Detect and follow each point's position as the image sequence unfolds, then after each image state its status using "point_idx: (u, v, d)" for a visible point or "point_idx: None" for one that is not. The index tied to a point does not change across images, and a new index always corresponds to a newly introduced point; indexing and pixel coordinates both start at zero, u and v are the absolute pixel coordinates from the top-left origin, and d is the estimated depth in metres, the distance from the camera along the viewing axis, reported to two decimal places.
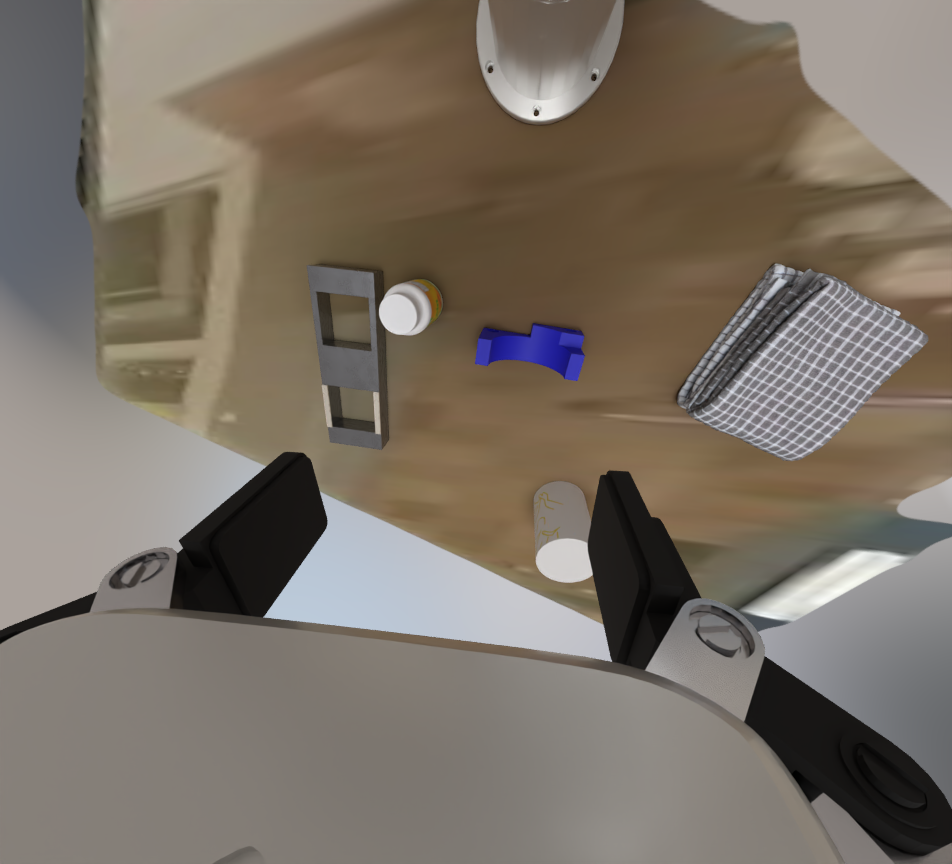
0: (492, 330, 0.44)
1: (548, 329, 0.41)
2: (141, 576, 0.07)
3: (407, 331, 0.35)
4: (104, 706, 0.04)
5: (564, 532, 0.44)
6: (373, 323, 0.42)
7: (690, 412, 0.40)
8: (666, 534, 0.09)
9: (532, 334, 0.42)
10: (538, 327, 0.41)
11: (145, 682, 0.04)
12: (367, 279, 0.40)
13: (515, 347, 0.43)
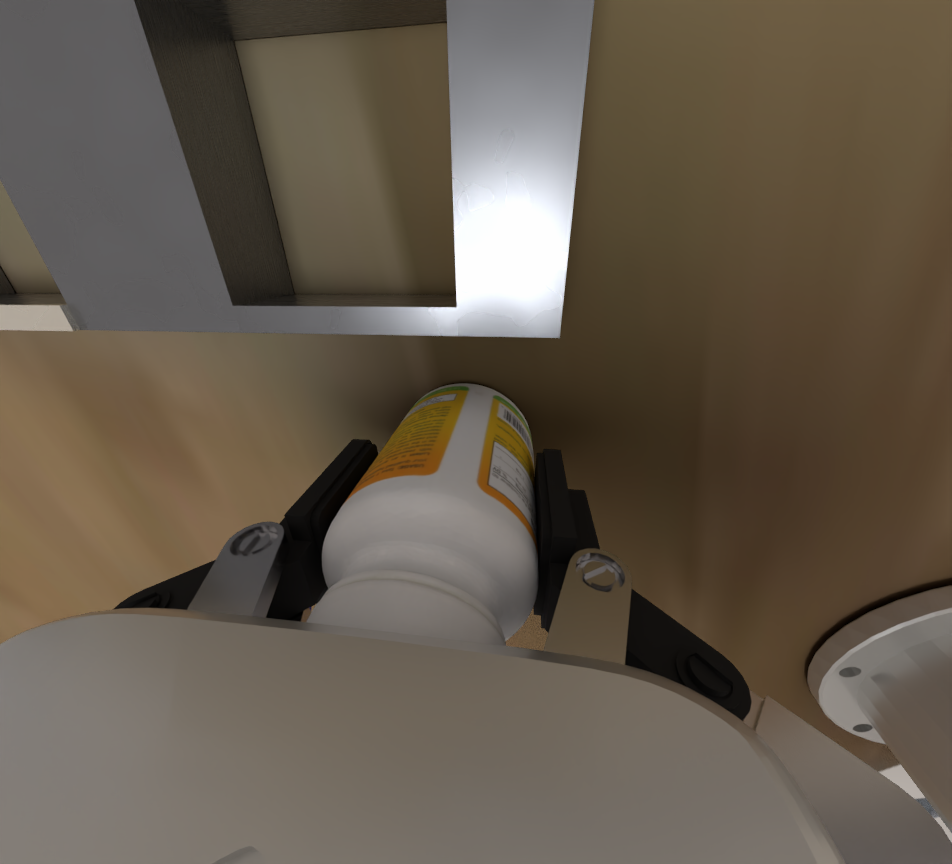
0: None
1: None
2: (256, 546, 0.08)
3: None
4: (104, 706, 0.04)
5: None
6: (353, 323, 0.10)
7: None
8: (586, 503, 0.10)
9: None
10: None
11: (145, 682, 0.04)
12: (532, 307, 0.09)
13: None
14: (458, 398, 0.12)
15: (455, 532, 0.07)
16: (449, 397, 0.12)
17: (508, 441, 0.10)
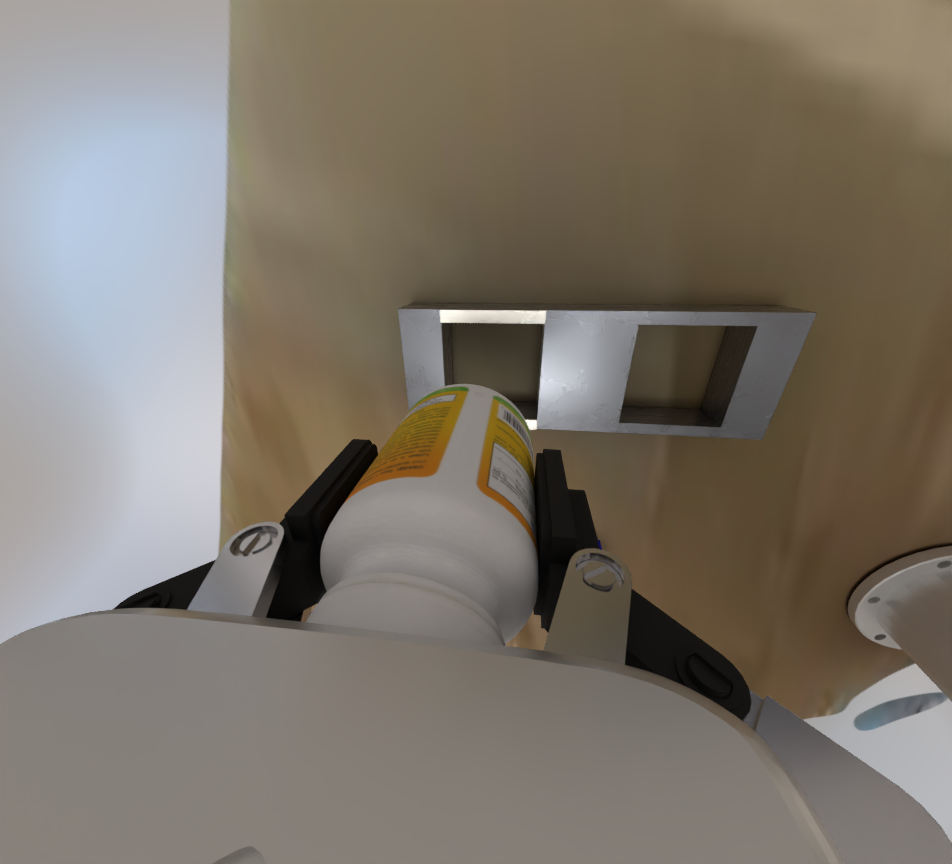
0: None
1: None
2: (256, 546, 0.08)
3: None
4: (104, 706, 0.04)
5: None
6: (672, 431, 0.23)
7: None
8: (586, 502, 0.10)
9: None
10: None
11: (145, 682, 0.04)
12: (753, 428, 0.22)
13: None
14: (458, 398, 0.11)
15: (454, 535, 0.07)
16: (448, 398, 0.12)
17: (508, 442, 0.10)
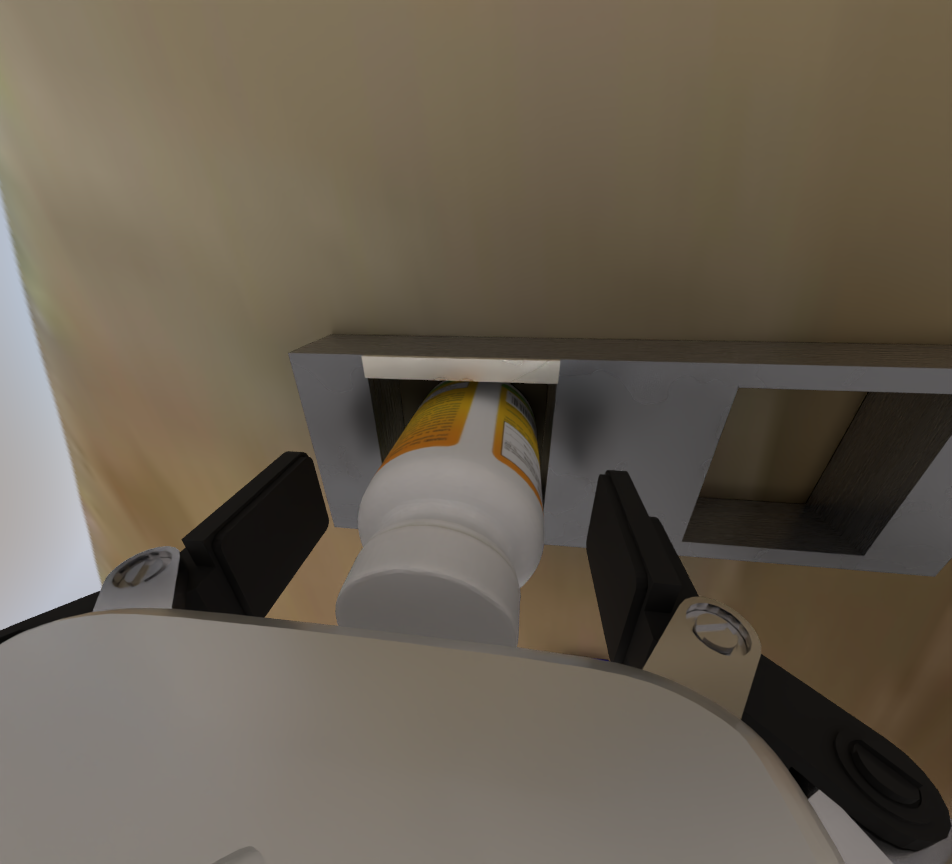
0: None
1: None
2: (144, 575, 0.07)
3: None
4: (104, 706, 0.04)
5: None
6: (774, 557, 0.13)
7: None
8: (664, 532, 0.09)
9: None
10: None
11: (145, 682, 0.04)
12: (923, 560, 0.13)
13: None
14: (470, 385, 0.13)
15: (476, 491, 0.08)
16: (462, 385, 0.13)
17: (516, 422, 0.12)
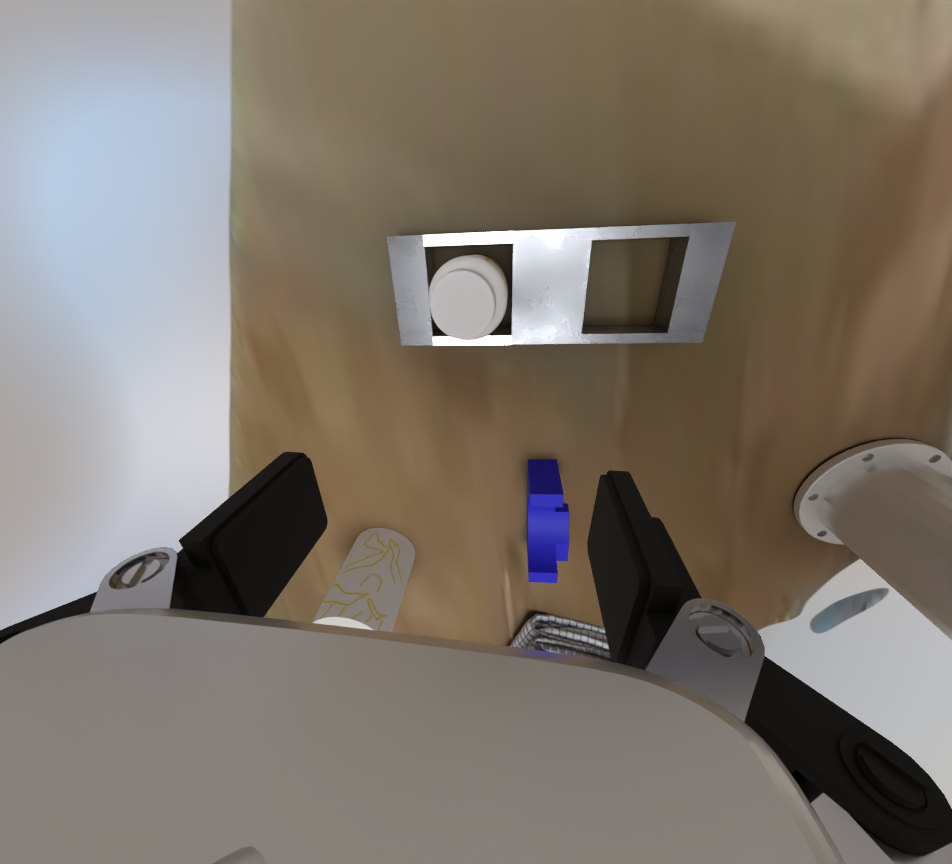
0: None
1: (567, 527, 0.38)
2: (141, 576, 0.07)
3: (438, 324, 0.21)
4: (104, 706, 0.04)
5: (385, 627, 0.35)
6: (626, 339, 0.27)
7: (534, 646, 0.44)
8: (666, 533, 0.09)
9: (559, 512, 0.38)
10: (567, 516, 0.38)
11: (145, 682, 0.04)
12: (694, 332, 0.26)
13: None
14: (473, 254, 0.26)
15: (478, 265, 0.21)
16: None
17: (495, 263, 0.25)
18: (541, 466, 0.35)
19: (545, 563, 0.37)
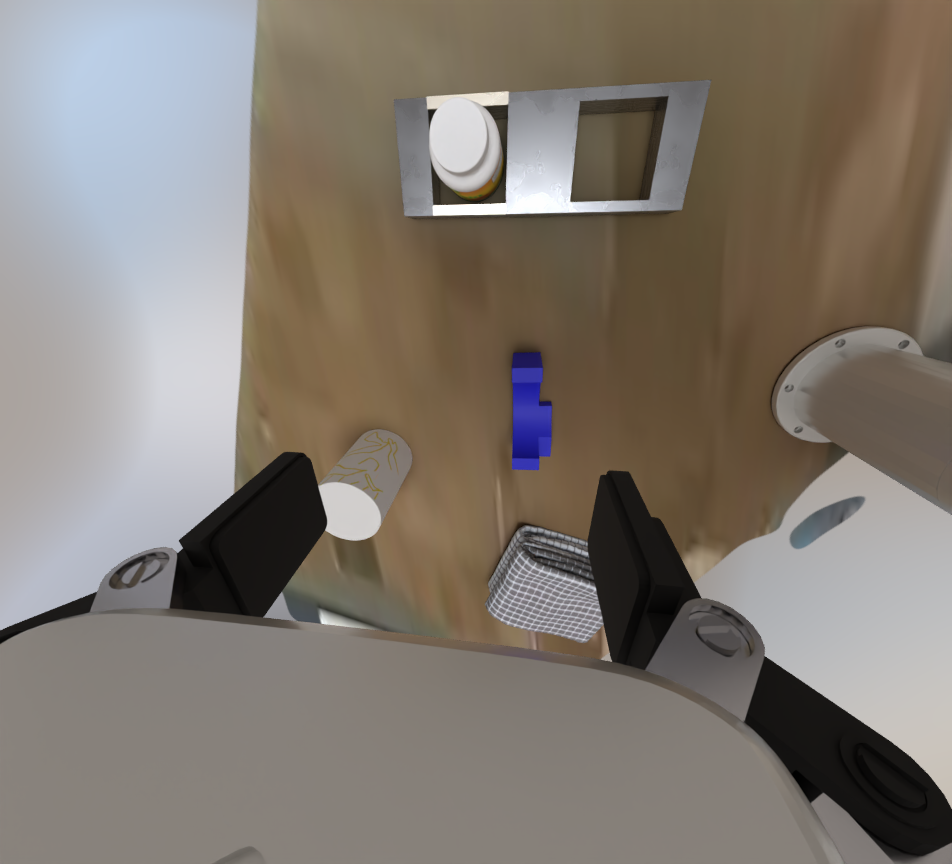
0: None
1: (550, 421, 0.41)
2: (141, 576, 0.07)
3: (436, 155, 0.24)
4: (104, 706, 0.04)
5: (381, 500, 0.37)
6: (611, 207, 0.29)
7: (521, 547, 0.46)
8: (666, 533, 0.09)
9: (542, 407, 0.40)
10: (550, 411, 0.40)
11: (145, 682, 0.04)
12: (674, 199, 0.28)
13: (526, 394, 0.39)
14: None
15: None
16: None
17: None
18: (524, 355, 0.38)
19: (528, 452, 0.39)
